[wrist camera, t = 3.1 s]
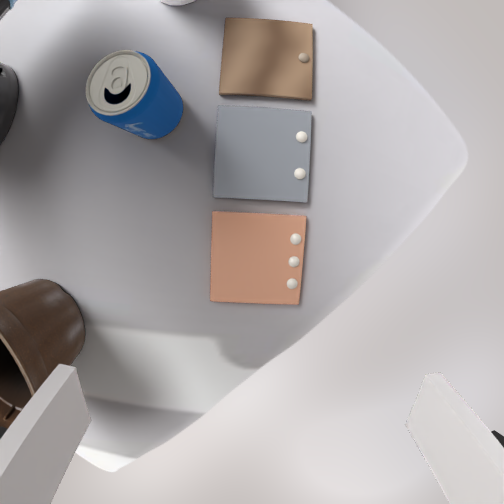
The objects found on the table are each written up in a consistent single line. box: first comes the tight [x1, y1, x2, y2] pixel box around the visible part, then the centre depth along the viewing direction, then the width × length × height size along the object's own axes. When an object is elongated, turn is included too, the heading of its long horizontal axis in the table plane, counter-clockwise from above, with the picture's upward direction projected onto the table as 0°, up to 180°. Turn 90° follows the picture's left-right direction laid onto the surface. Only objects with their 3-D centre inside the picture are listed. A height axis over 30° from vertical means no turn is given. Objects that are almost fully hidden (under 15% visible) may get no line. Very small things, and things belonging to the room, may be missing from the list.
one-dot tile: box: [219, 18, 313, 101], centre depth 30 cm, size 10×10×1 cm
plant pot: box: [0, 279, 85, 429], centre depth 29 cm, size 16×16×16 cm
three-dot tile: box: [210, 211, 306, 305], centre depth 35 cm, size 10×10×1 cm
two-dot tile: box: [213, 106, 312, 202], centre depth 33 cm, size 10×10×1 cm
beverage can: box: [86, 50, 183, 139], centre depth 26 cm, size 6×6×12 cm
